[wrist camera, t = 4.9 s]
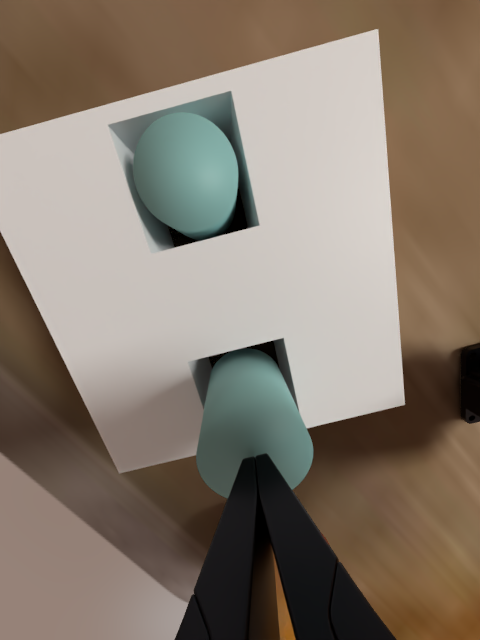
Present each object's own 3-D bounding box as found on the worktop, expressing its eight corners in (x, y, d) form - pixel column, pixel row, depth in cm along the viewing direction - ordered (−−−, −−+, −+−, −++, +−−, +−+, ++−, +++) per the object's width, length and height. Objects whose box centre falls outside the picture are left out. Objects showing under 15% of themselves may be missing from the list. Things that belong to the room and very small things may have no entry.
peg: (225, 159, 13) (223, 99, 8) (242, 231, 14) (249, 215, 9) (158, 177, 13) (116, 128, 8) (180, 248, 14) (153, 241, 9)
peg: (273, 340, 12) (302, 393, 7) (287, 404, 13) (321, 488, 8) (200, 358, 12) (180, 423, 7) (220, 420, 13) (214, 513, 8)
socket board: (323, 115, 13) (377, 29, 8) (355, 363, 17) (405, 404, 12) (56, 187, 13) (-42, 145, 9) (150, 414, 17) (119, 473, 13)
